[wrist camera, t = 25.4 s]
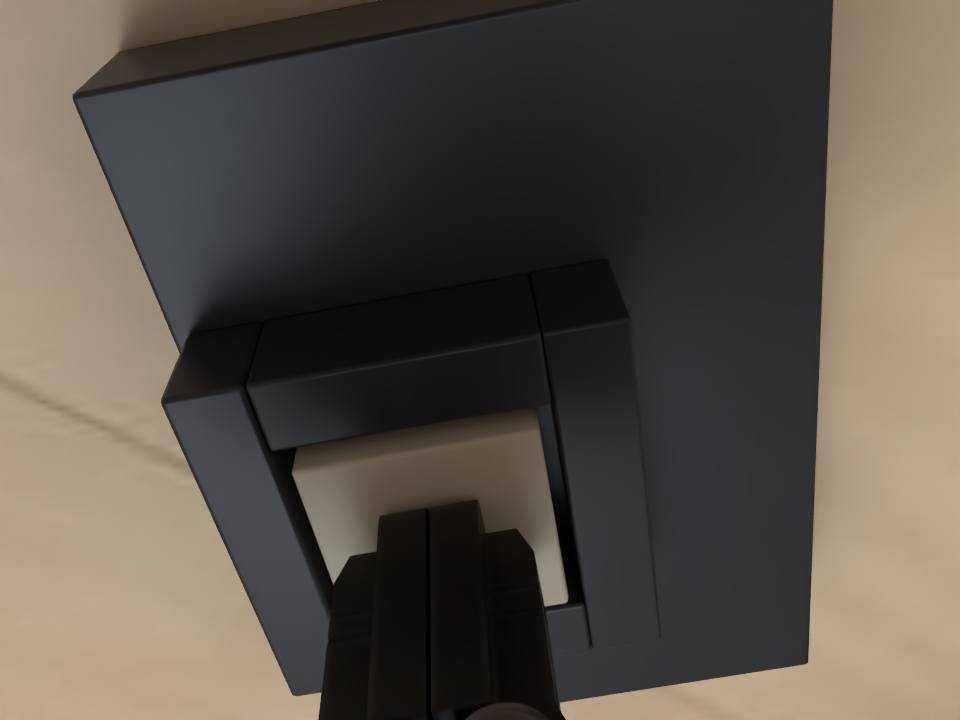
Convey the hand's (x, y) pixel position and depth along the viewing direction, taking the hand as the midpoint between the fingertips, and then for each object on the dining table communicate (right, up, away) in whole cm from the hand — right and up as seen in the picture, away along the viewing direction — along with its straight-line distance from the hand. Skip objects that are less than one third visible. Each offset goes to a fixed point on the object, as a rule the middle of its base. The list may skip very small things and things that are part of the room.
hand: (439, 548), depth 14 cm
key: (0, +1, +1) cm, 2 cm away
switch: (+1, +3, +3) cm, 4 cm away
